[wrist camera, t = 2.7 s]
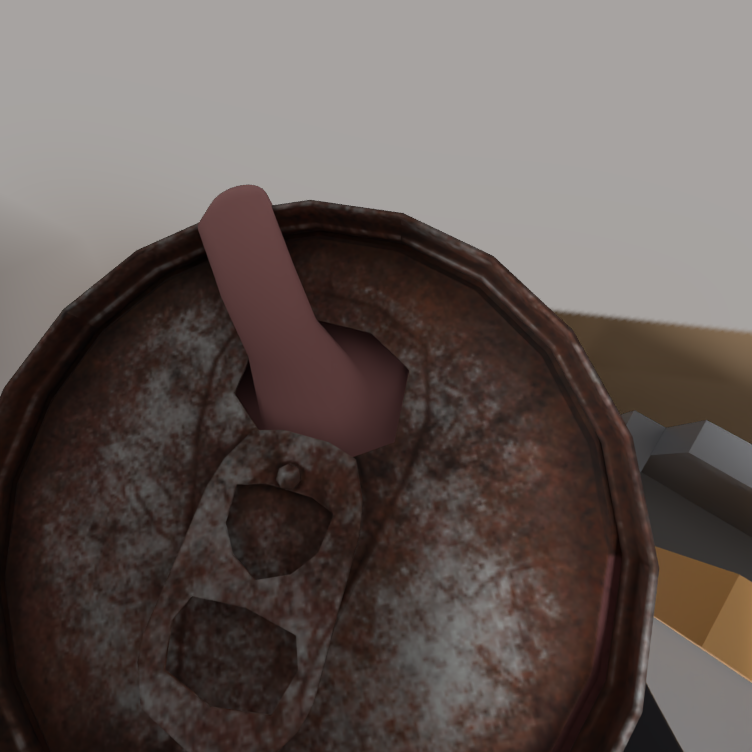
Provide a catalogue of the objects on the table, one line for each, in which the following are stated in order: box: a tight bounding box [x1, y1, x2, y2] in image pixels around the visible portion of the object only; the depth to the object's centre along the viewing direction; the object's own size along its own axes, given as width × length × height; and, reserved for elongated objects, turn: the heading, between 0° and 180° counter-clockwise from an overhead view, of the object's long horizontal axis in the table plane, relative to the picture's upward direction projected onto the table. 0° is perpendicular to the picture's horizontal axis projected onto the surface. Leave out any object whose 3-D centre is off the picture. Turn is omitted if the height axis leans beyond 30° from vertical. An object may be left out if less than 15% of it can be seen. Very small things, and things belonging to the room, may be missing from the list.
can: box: [0, 185, 659, 752], centre depth 10 cm, size 6×6×14 cm
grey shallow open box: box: [621, 410, 752, 752], centre depth 11 cm, size 14×12×5 cm
